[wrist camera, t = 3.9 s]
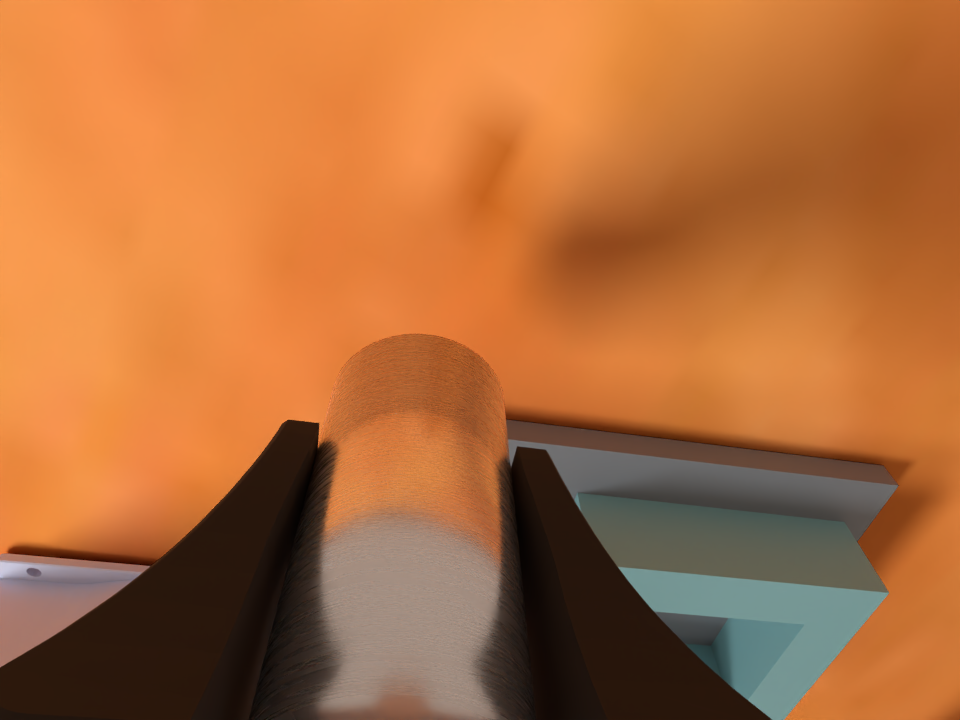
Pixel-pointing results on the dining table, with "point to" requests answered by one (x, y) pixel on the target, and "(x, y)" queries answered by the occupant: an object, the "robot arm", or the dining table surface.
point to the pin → (405, 551)
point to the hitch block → (731, 547)
